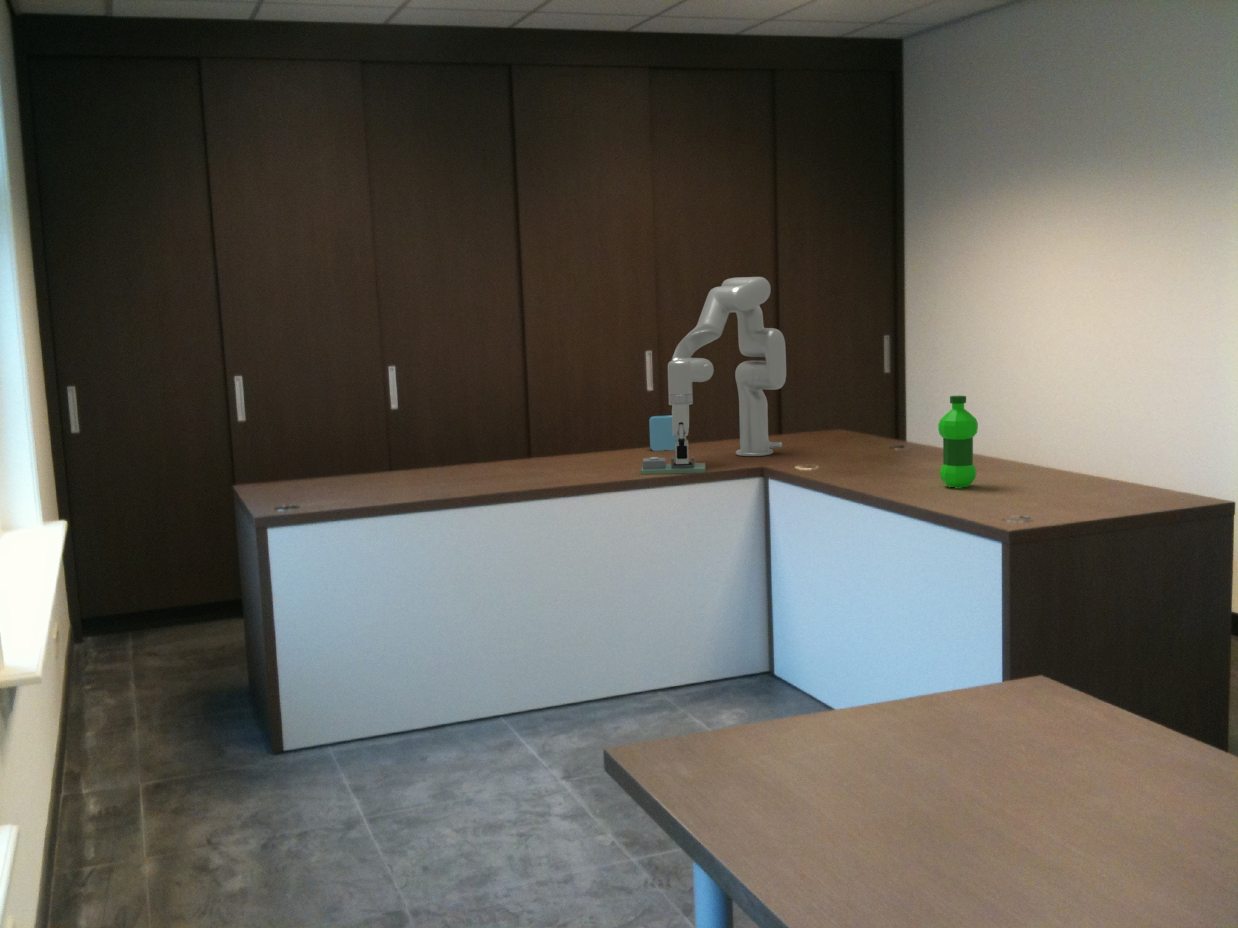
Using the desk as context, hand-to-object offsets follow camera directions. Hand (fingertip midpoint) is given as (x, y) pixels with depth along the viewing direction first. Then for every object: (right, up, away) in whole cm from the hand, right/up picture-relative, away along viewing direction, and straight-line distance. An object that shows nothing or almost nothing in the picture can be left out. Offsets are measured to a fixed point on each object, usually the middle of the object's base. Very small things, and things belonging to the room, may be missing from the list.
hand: (682, 457), depth 384 cm
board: (-3, -4, +1) cm, 5 cm away
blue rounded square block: (-3, +3, +50) cm, 50 cm away
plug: (0, -2, 0) cm, 2 cm away
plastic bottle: (+73, -9, -49) cm, 89 cm away
